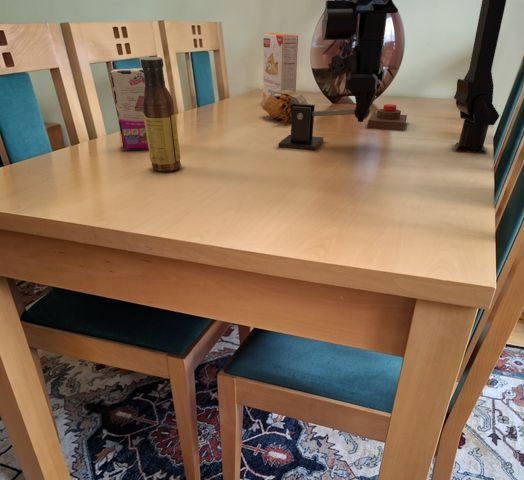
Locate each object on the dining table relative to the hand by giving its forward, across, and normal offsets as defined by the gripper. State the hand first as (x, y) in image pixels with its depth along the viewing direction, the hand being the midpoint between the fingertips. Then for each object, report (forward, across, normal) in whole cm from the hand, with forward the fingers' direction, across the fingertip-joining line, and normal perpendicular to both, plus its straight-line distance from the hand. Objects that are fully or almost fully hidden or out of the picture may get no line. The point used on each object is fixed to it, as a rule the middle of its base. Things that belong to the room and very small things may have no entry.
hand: (361, 120), depth 107 cm
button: (+3, -32, +4) cm, 32 cm away
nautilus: (+6, -28, -27) cm, 40 cm away
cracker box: (+6, -52, -35) cm, 63 cm away
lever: (0, 0, -7) cm, 7 cm away
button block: (+7, -32, +4) cm, 33 cm away
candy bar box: (+6, +15, -49) cm, 52 cm away
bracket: (+6, 0, -14) cm, 16 cm away
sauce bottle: (+6, +30, -36) cm, 47 cm away
